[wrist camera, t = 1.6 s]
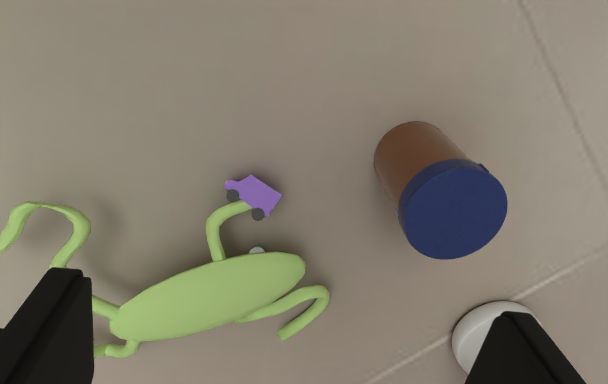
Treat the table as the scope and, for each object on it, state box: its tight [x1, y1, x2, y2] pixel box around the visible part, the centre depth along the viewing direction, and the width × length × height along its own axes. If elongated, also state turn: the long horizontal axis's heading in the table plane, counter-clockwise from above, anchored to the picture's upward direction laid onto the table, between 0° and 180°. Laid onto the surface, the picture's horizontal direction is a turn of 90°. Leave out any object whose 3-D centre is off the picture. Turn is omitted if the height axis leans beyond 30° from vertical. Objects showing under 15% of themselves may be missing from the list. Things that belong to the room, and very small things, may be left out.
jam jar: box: [374, 121, 472, 213], centre depth 33 cm, size 6×6×9 cm
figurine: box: [0, 175, 330, 358], centre depth 38 cm, size 18×27×6 cm
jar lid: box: [398, 159, 507, 259], centre depth 30 cm, size 7×7×2 cm
